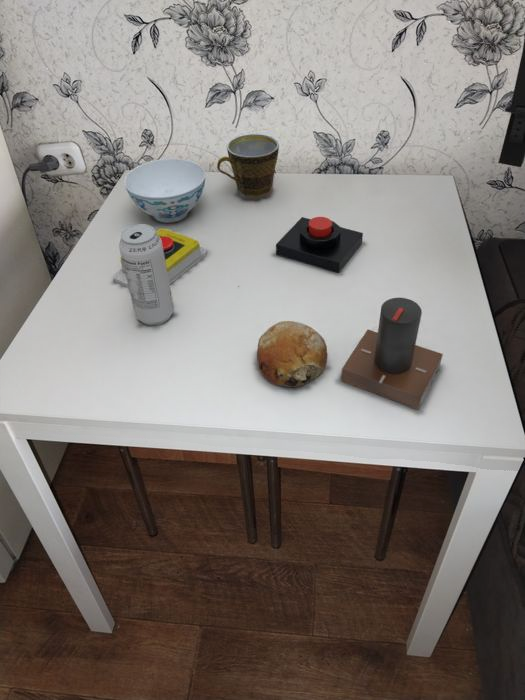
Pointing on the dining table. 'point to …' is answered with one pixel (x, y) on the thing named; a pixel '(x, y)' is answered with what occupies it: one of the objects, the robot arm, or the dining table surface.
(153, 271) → the energy drink can
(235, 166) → the ceramic cup
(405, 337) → the dial
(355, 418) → the dining table surface
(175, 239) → the emergency button
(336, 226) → the button box
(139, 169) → the chinaware
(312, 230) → the button
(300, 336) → the bread roll
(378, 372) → the dial panel
